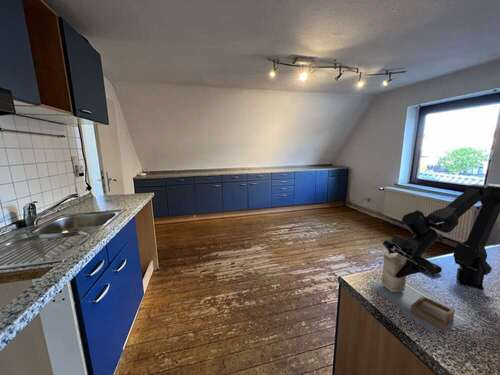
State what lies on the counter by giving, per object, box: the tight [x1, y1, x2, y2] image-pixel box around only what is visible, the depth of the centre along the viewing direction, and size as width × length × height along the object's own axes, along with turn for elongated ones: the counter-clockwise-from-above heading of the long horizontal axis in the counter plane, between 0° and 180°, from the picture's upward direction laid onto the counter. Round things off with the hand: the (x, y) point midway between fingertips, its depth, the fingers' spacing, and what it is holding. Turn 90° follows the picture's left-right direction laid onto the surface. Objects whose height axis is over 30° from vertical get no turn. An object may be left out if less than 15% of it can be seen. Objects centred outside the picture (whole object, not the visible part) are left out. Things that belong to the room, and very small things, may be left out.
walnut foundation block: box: [411, 296, 455, 331], centre depth 68 cm, size 8×8×3 cm
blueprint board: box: [367, 280, 475, 334], centre depth 75 cm, size 16×24×1 cm, turn 14°
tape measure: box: [422, 262, 443, 275], centre depth 95 cm, size 7×7×4 cm
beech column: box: [381, 253, 407, 292], centre depth 81 cm, size 5×5×12 cm
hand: (390, 273), depth 81 cm, fingers closed on beech column, 5 cm apart
